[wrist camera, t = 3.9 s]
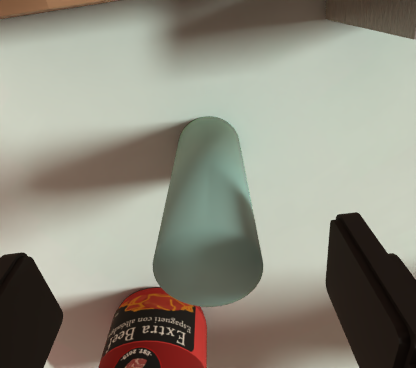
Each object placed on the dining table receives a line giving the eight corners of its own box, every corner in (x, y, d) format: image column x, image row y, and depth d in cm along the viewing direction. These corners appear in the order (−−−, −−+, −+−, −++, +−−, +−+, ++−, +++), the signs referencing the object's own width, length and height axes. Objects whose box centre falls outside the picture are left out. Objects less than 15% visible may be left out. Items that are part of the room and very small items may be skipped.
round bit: (241, 169, 20) (265, 302, 11) (184, 175, 20) (164, 310, 12) (236, 112, 18) (260, 220, 10) (173, 120, 18) (141, 232, 10)
